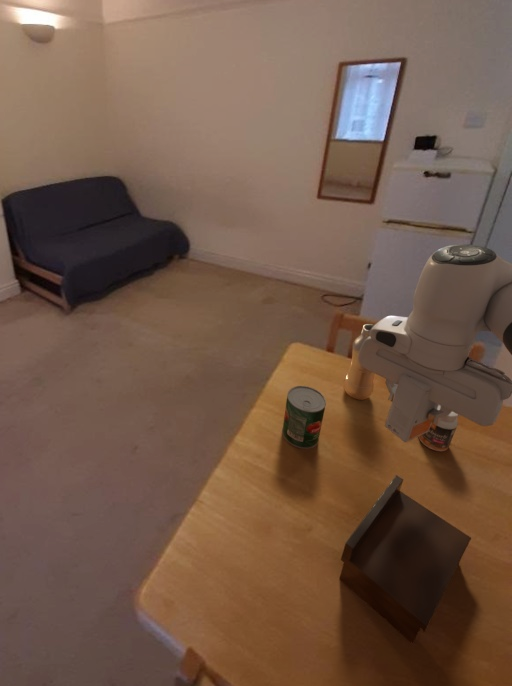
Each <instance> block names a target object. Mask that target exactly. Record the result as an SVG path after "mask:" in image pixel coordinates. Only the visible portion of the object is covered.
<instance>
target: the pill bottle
mask: <svg viewBox="0 0 512 686" xmlns="http://www.w3.org/2000/svg"><path fill="white" fill-rule="evenodd" d="M440 407H441V406H440V405H439V406H438V408H437V410H440ZM459 416H460V415H459V414H457V413H455V412H451V413H450V415H447V416H445V417H442V418H441V420H440V422H439V423H438V424H437V425H435V424H434V423H432V424H431V426H430V429H429V431H428V432H427V433H425V434H422V435H420V436H418V440H419V441H420V442H421V443H422V445H424V446H425V447H427V448H428V449H430V450H432V451H436V452H445V451H447V450H448V449H449V448H450V445H451V443H452V440H453V438H454V435H455V433H456V430H457V428H458V425H459V421H458V418H459Z"/></svg>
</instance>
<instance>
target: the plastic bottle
mask: <svg viewBox="0 0 512 686" xmlns="http://www.w3.org/2000/svg"><path fill="white" fill-rule="evenodd" d="M374 325H375V324H371V323H366V324H363V326H362V330H361V334H360V335H359V336H357V337H356V338H355V339H354V341H353V342H352V350H351V351H352V353H351V361H350V366H349V368H348V371H347V374H346V376H345V378H344V380H343V390H344V391H345V393H346V395H347V396H349V397H350V398H353V399H356V400H361V401H363V400H366V399H369V398H370V397H371V396H372V394H373V392H374V385H375V384H374V380H375V375H376V374H375V373H373V372H371V371H369V370H367V369H365V368H363V367H361V366H360V364H359V362H358V360H357V358H358V354H359V351H360V348H361V346H362V344H363V342H364V341H365V340H366V339H367V338H368V337H369V336H370V330H371V329H372V327H373V326H374Z"/></svg>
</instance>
